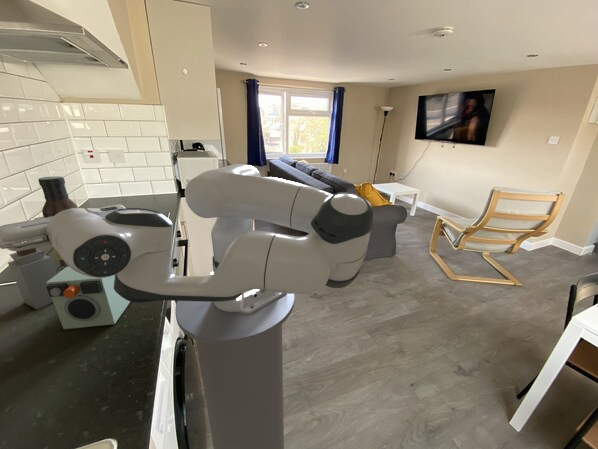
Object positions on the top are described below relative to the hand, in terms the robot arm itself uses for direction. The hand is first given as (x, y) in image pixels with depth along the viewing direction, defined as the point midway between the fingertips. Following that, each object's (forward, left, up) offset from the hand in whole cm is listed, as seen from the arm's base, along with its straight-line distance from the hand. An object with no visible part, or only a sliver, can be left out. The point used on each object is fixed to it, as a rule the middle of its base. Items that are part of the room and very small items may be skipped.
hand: (62, 216), depth 58 cm
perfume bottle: (+13, -22, -30) cm, 39 cm away
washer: (-1, -6, -30) cm, 31 cm away
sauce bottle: (0, +1, -11) cm, 11 cm away
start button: (+2, +1, -19) cm, 19 cm away
